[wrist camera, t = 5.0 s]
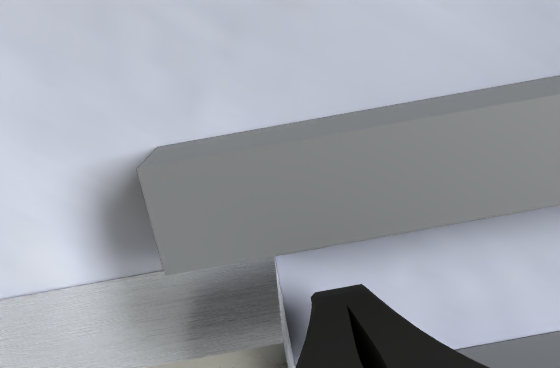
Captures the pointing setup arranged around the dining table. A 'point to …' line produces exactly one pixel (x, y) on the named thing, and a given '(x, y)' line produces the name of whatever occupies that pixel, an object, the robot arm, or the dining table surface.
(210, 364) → the rectangular block
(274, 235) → the grey bars
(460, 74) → the dining table surface
